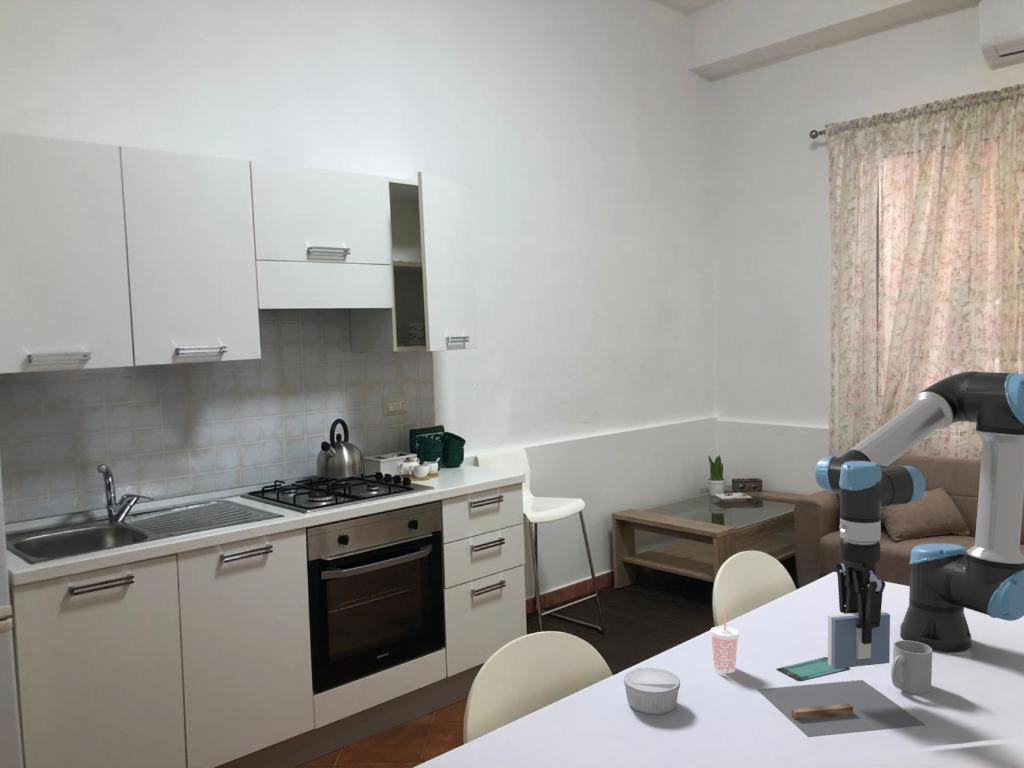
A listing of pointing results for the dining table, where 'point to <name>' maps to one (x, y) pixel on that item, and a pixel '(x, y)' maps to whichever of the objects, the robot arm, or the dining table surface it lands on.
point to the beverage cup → (724, 648)
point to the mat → (866, 702)
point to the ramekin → (651, 690)
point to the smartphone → (810, 669)
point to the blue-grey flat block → (844, 641)
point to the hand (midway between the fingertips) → (858, 654)
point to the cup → (912, 666)
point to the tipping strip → (822, 711)
